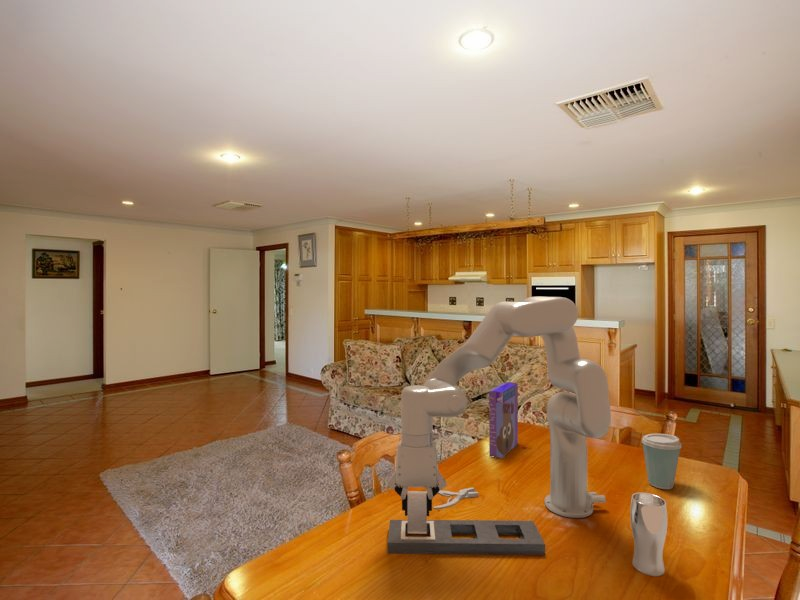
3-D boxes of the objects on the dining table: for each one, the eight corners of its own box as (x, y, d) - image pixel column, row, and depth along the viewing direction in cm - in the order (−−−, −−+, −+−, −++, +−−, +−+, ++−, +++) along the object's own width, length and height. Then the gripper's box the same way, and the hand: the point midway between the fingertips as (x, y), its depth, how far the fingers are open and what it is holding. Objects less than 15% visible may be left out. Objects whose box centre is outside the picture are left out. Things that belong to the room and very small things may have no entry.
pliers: (422, 489, 130) (469, 482, 134) (422, 494, 130) (469, 487, 134) (434, 505, 120) (483, 497, 124) (434, 510, 120) (483, 503, 124)
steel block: (426, 523, 107) (426, 491, 107) (426, 533, 103) (426, 500, 102) (407, 523, 107) (407, 491, 107) (407, 533, 103) (407, 499, 103)
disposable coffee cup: (643, 489, 131) (643, 440, 130) (638, 475, 141) (639, 429, 140) (685, 495, 127) (685, 444, 126) (677, 480, 137) (677, 432, 136)
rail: (533, 530, 109) (533, 519, 109) (545, 554, 99) (545, 542, 99) (390, 529, 110) (389, 518, 110) (387, 553, 100) (387, 541, 100)
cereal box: (502, 459, 155) (501, 392, 154) (489, 456, 158) (489, 390, 157) (517, 444, 170) (517, 382, 169) (505, 441, 172) (505, 381, 171)
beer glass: (623, 558, 98) (623, 492, 97) (652, 556, 98) (653, 491, 98) (643, 579, 91) (643, 508, 90) (674, 576, 91) (675, 506, 91)
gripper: (450, 433, 108) (450, 506, 108) (382, 432, 108) (383, 505, 109) (453, 444, 100) (453, 522, 101) (380, 443, 101) (380, 521, 101)
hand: (416, 512), depth 105 cm, fingers closed on steel block, 4 cm apart
